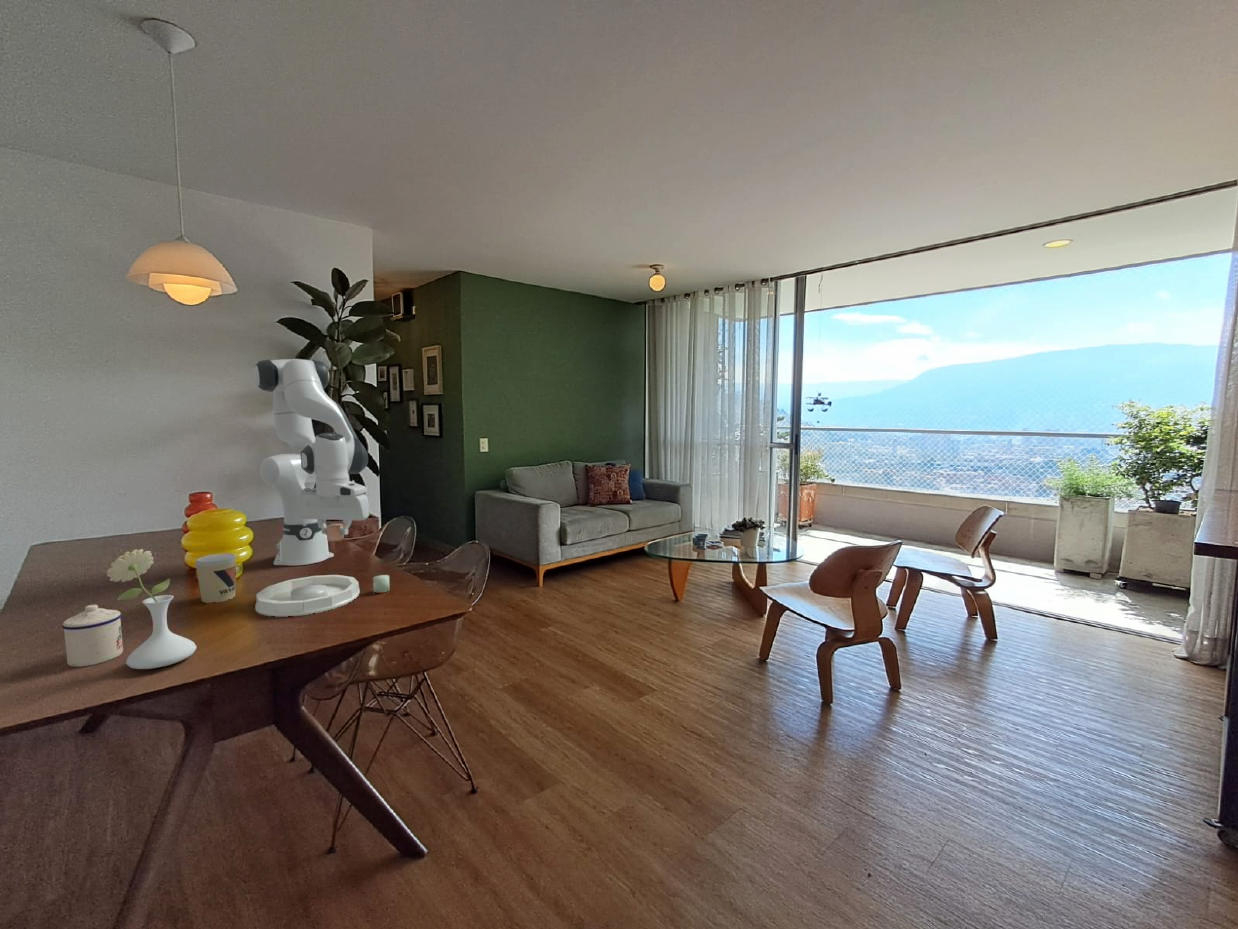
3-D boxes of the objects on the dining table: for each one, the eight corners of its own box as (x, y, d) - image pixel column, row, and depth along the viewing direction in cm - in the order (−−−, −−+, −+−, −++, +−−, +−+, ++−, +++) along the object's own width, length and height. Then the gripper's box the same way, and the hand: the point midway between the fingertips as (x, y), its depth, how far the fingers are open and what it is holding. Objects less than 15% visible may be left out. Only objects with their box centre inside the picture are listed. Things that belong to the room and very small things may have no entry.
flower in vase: (189, 645, 121) (181, 537, 119) (203, 660, 114) (195, 545, 112) (111, 666, 111) (100, 549, 109) (121, 684, 104) (110, 558, 102)
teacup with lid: (131, 654, 117) (127, 603, 116) (74, 672, 109) (69, 616, 108) (110, 643, 123) (106, 593, 122) (54, 658, 115) (49, 606, 114)
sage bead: (371, 591, 159) (371, 576, 159) (387, 588, 162) (386, 574, 162) (375, 595, 156) (375, 580, 155) (391, 591, 159) (391, 577, 158)
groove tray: (251, 597, 153) (250, 585, 153) (348, 580, 169) (347, 569, 169) (260, 624, 133) (260, 611, 133) (370, 602, 150) (369, 590, 149)
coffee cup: (222, 604, 148) (219, 562, 147) (189, 604, 148) (186, 561, 147) (246, 593, 157) (244, 553, 156) (215, 593, 158) (212, 553, 156)
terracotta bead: (325, 539, 160) (324, 524, 159) (341, 537, 162) (341, 522, 162) (328, 542, 156) (328, 527, 156) (345, 539, 159) (344, 525, 159)
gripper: (292, 489, 156) (295, 535, 157) (359, 490, 154) (361, 537, 155) (307, 486, 162) (309, 530, 163) (371, 487, 160) (373, 532, 161)
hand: (335, 534), depth 159 cm, fingers closed on terracotta bead, 4 cm apart
